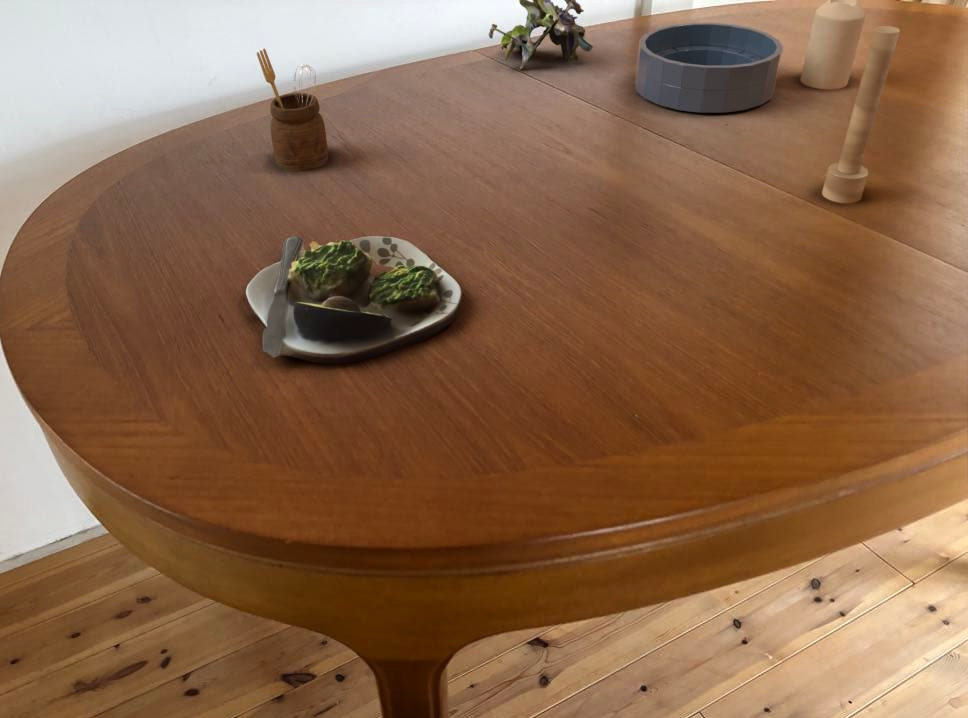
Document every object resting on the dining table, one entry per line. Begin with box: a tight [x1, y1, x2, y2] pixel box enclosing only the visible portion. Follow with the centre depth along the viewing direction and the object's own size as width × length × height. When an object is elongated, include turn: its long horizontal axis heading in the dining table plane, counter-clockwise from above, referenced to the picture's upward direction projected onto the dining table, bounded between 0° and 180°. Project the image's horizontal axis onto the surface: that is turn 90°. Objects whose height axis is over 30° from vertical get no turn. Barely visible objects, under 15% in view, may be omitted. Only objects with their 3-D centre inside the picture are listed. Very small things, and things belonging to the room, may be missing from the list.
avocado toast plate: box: [245, 235, 463, 365], centre depth 75 cm, size 19×18×5 cm
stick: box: [821, 25, 901, 204], centre depth 82 cm, size 4×4×16 cm
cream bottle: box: [800, 0, 866, 90], centre depth 107 cm, size 6×6×10 cm
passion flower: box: [488, 0, 594, 71], centre depth 117 cm, size 11×11×12 cm
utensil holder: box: [256, 47, 329, 172], centre depth 95 cm, size 6×6×12 cm
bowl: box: [634, 22, 784, 114], centre depth 108 cm, size 16×16×6 cm
